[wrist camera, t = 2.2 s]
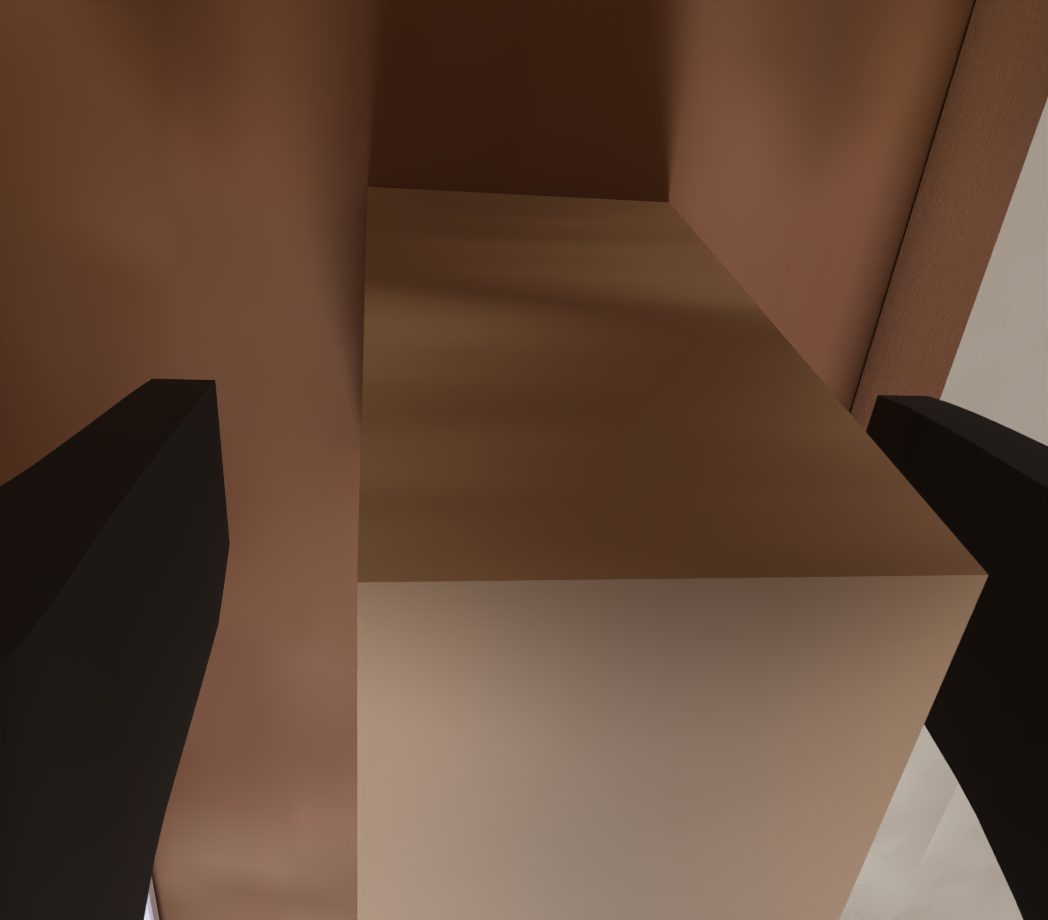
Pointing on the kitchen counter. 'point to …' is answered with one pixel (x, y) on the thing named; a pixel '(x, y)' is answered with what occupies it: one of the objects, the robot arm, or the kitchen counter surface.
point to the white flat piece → (966, 393)
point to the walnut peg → (620, 580)
